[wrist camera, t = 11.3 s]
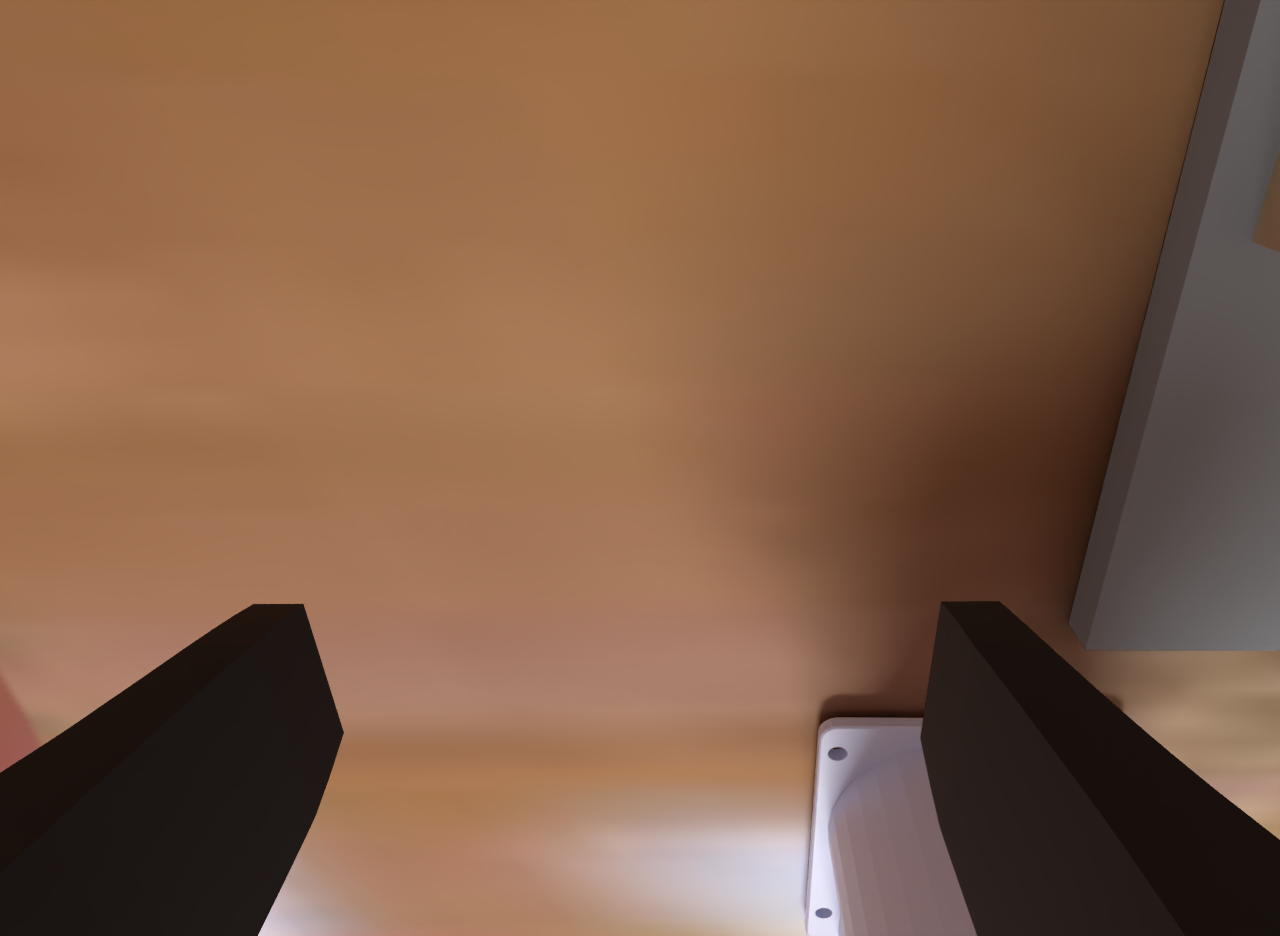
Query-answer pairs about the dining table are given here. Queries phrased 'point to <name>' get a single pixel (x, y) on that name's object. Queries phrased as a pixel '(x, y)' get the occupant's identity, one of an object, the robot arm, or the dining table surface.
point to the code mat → (1202, 392)
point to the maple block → (1270, 214)
